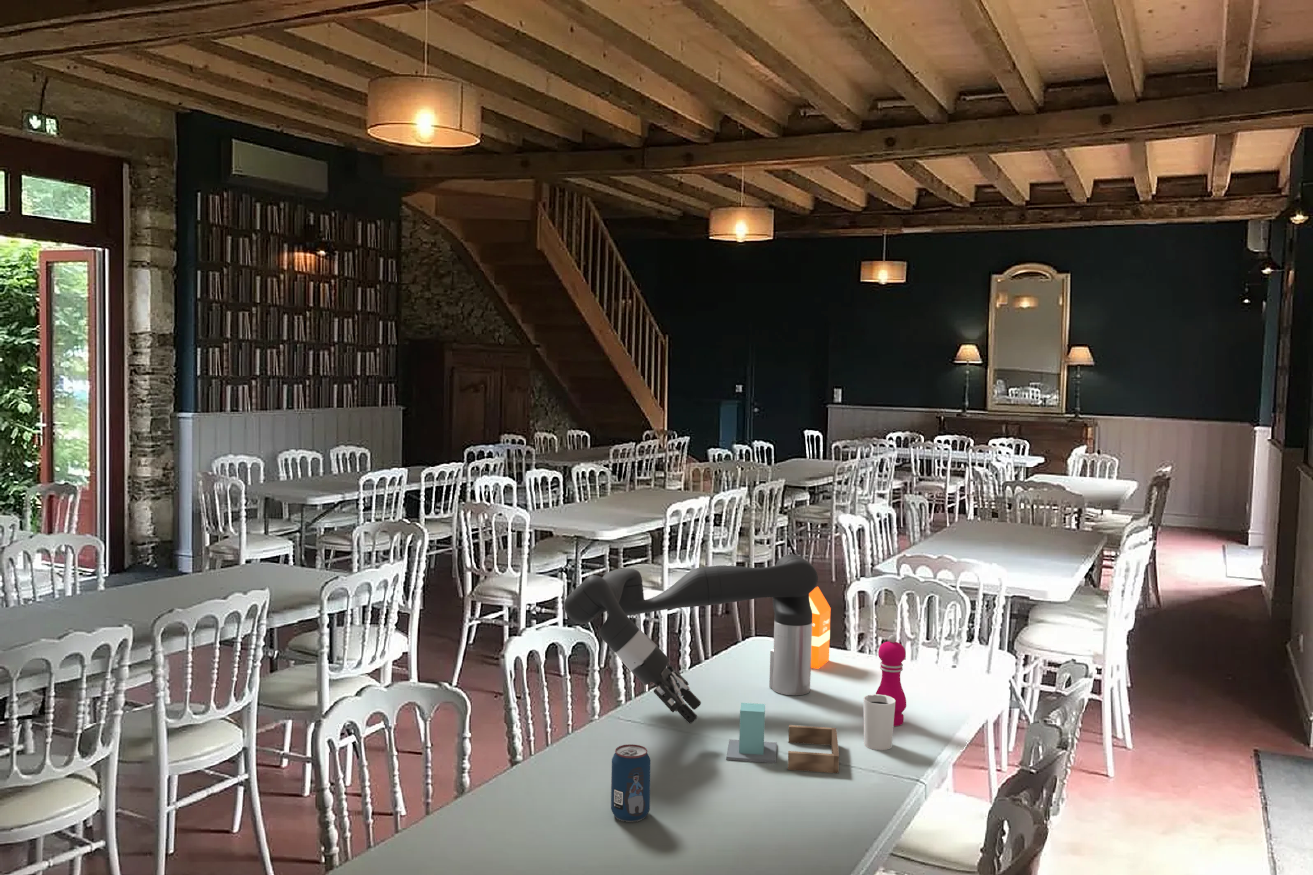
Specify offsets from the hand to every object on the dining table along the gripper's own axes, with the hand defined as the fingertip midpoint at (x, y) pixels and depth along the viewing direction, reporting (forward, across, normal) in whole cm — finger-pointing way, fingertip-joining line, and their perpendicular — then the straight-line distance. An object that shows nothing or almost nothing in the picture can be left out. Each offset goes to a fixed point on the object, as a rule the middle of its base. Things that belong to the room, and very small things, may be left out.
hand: (696, 713), depth 223 cm
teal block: (+13, 0, +3) cm, 14 cm away
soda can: (0, +34, -11) cm, 36 cm away
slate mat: (+14, 0, +3) cm, 14 cm away
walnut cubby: (+22, 0, +11) cm, 25 cm away
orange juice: (+23, -68, +12) cm, 72 cm away
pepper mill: (+35, -24, +24) cm, 49 cm away
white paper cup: (+32, -9, +21) cm, 40 cm away
